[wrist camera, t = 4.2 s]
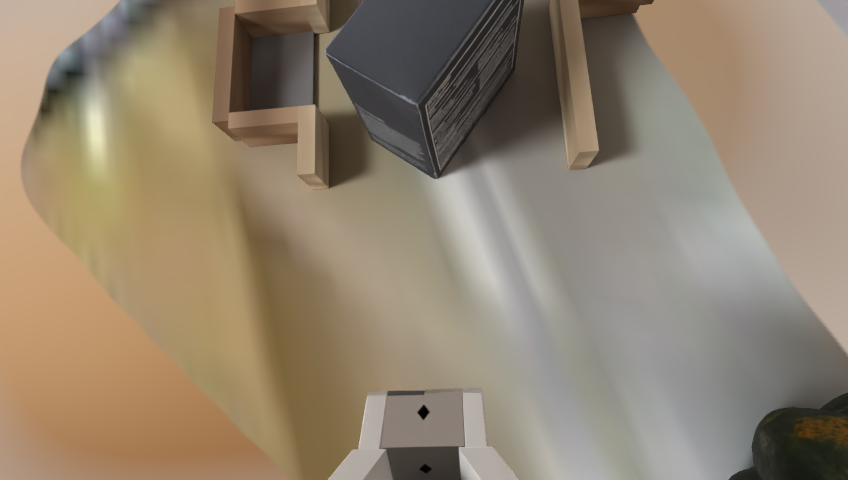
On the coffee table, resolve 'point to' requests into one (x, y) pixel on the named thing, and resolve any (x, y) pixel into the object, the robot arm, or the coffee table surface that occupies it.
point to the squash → (801, 444)
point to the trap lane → (294, 77)
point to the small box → (425, 71)
